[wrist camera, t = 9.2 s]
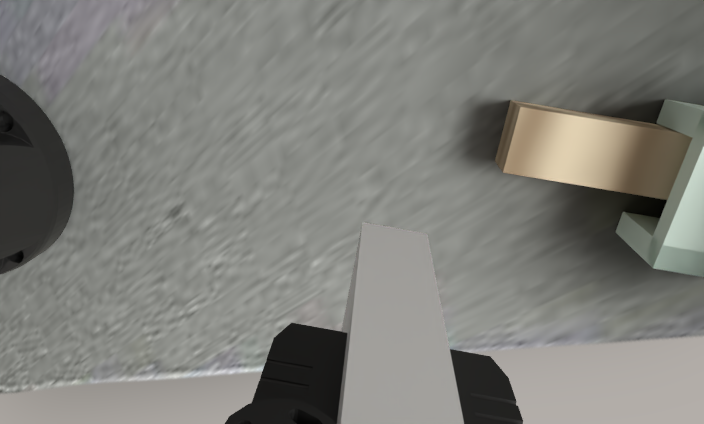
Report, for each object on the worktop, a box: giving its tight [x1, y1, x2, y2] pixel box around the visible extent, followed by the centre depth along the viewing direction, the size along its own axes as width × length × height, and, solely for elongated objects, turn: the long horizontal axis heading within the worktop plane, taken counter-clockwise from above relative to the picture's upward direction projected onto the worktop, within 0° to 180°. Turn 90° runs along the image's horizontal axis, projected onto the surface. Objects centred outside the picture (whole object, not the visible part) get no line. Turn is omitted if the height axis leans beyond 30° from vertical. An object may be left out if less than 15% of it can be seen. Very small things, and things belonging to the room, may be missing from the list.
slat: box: [495, 100, 692, 200], centre depth 32 cm, size 14×4×3 cm, turn 81°
